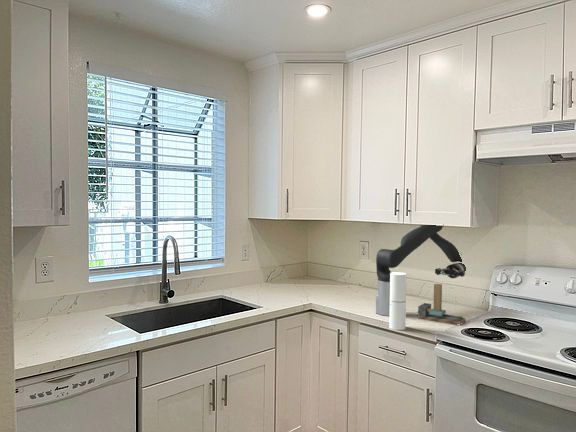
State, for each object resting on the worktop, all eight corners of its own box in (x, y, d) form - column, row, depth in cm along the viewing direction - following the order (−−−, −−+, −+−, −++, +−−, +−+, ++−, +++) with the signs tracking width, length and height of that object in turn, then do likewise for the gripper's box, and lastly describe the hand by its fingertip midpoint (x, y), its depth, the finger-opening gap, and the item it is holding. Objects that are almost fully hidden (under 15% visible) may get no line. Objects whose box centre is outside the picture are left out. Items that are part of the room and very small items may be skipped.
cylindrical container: (398, 331, 190) (399, 275, 190) (385, 327, 196) (386, 273, 195) (408, 328, 195) (409, 273, 194) (396, 324, 200) (397, 271, 199)
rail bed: (418, 318, 211) (418, 306, 211) (424, 314, 219) (424, 303, 218) (460, 325, 199) (460, 313, 199) (465, 321, 207) (465, 309, 206)
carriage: (428, 314, 209) (429, 284, 209) (433, 311, 215) (434, 282, 214) (441, 316, 206) (442, 286, 205) (445, 313, 211) (446, 284, 211)
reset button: (424, 313, 213) (424, 308, 213) (426, 312, 215) (426, 307, 215) (430, 314, 211) (430, 309, 211) (432, 313, 213) (432, 308, 213)
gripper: (441, 262, 237) (432, 265, 224) (468, 265, 228) (460, 268, 215) (441, 275, 237) (431, 279, 224) (468, 279, 229) (460, 282, 216)
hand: (445, 273), depth 220 cm, fingers open, 8 cm apart
